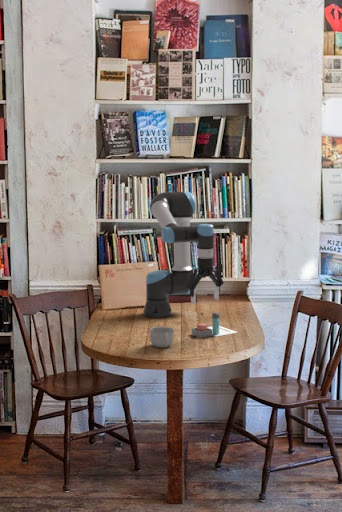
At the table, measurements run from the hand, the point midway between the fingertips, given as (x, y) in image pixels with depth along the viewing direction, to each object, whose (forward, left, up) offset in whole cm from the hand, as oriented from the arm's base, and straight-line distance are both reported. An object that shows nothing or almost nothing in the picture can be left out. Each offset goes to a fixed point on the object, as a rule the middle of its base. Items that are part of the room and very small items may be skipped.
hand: (205, 301), depth 351 cm
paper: (-2, +9, -16) cm, 19 cm away
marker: (+2, +5, -16) cm, 17 cm away
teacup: (+6, -28, -17) cm, 33 cm away
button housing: (0, -1, -16) cm, 16 cm away
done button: (0, -1, -15) cm, 15 cm away
